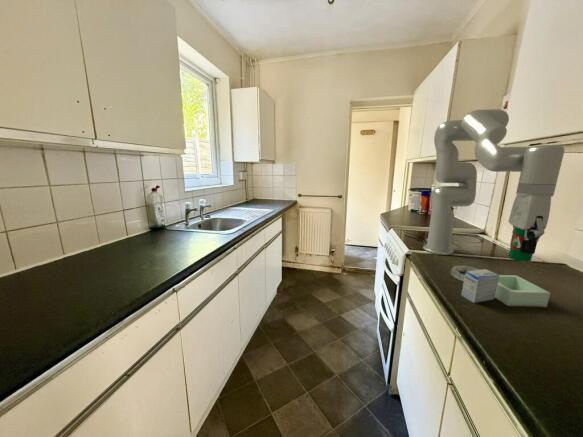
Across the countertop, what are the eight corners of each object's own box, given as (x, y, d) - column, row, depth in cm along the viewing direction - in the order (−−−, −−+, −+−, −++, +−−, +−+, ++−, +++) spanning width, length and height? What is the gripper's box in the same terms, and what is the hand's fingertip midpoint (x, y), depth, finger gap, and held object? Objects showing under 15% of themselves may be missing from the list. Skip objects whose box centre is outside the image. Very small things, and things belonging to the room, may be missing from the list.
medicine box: (480, 292, 76) (485, 268, 74) (494, 300, 71) (500, 274, 69) (460, 295, 74) (465, 270, 72) (474, 303, 70) (479, 277, 68)
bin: (480, 287, 79) (482, 274, 78) (513, 287, 79) (516, 275, 78) (507, 306, 68) (511, 292, 67) (546, 306, 68) (550, 292, 67)
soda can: (527, 258, 71) (536, 221, 69) (533, 264, 67) (543, 224, 65) (506, 255, 74) (513, 219, 71) (510, 260, 70) (518, 222, 67)
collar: (445, 270, 92) (446, 265, 91) (473, 270, 91) (474, 266, 91) (464, 283, 81) (465, 278, 81) (496, 284, 81) (497, 279, 80)
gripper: (505, 187, 75) (494, 240, 79) (534, 192, 60) (519, 258, 64) (535, 188, 72) (522, 242, 76) (574, 193, 57) (556, 262, 61)
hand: (521, 249), depth 70 cm, fingers closed on soda can, 5 cm apart
